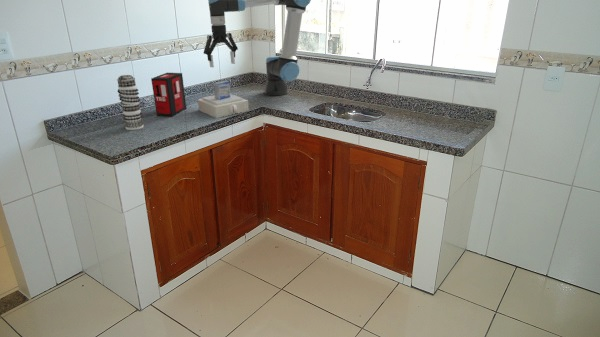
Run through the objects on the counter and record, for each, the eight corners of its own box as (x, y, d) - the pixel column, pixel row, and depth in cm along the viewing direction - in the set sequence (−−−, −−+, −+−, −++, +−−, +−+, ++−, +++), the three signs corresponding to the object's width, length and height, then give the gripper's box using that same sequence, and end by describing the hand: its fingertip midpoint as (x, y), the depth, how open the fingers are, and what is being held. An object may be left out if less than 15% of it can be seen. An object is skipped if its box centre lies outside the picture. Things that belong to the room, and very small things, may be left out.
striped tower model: (123, 131, 192) (113, 78, 182) (125, 125, 200) (115, 74, 190) (143, 129, 194) (134, 77, 184) (145, 123, 202) (136, 73, 192)
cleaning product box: (172, 107, 229) (167, 72, 221) (186, 108, 228) (182, 73, 219) (157, 116, 214) (151, 78, 206) (172, 117, 213) (167, 79, 205)
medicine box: (219, 99, 216) (218, 83, 212) (214, 98, 219) (212, 82, 215) (230, 97, 222) (229, 81, 218) (225, 95, 224) (223, 80, 221)
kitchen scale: (230, 104, 236) (229, 91, 233) (249, 111, 221) (248, 98, 218) (198, 110, 224) (197, 97, 221) (217, 118, 210) (216, 105, 207)
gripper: (200, 27, 203) (206, 69, 212) (241, 23, 218) (245, 62, 226) (193, 26, 208) (199, 67, 217) (234, 22, 223) (237, 61, 232)
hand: (222, 65), depth 222 cm, fingers open, 13 cm apart
